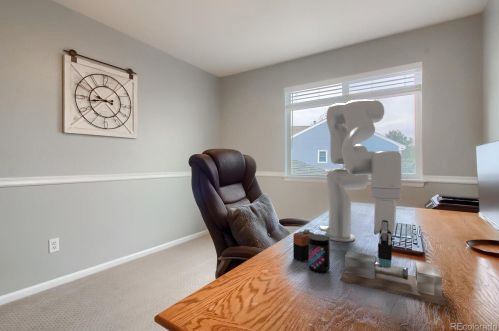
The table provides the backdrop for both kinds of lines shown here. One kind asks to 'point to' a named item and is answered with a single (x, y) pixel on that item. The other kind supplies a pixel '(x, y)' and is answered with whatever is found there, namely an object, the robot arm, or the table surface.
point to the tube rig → (395, 278)
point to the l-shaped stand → (390, 269)
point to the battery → (301, 245)
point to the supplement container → (319, 253)
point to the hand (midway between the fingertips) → (385, 253)
